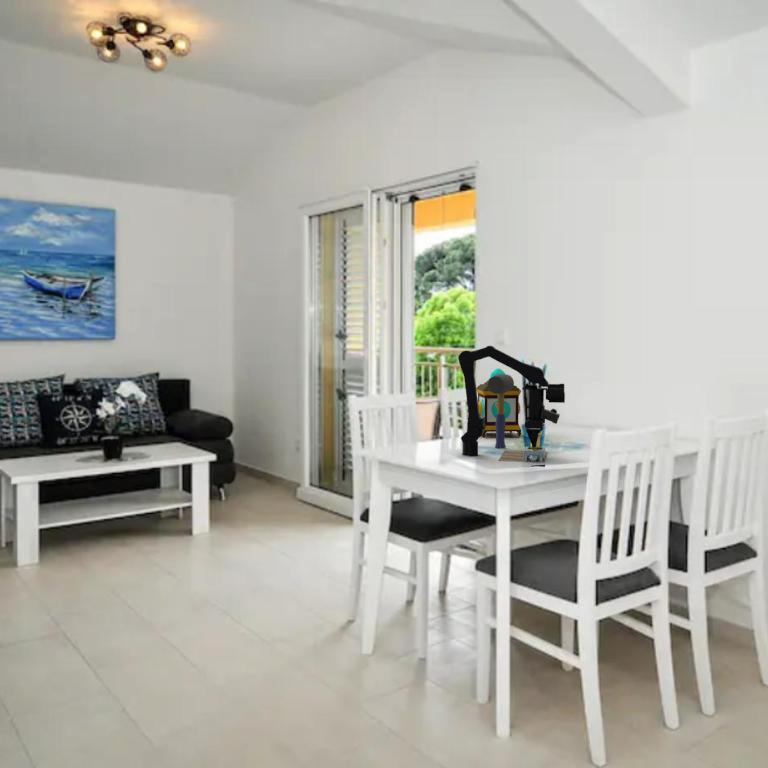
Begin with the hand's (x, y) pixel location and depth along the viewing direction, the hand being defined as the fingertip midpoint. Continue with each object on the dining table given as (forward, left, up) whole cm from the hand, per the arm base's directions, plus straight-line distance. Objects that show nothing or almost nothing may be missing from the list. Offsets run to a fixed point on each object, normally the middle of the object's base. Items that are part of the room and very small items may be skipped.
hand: (534, 445), depth 278 cm
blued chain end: (+3, -2, -4) cm, 6 cm away
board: (-2, -3, -6) cm, 7 cm away
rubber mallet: (-23, -2, -6) cm, 24 cm away
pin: (0, 0, -4) cm, 4 cm away
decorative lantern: (-65, +19, -6) cm, 68 cm away
